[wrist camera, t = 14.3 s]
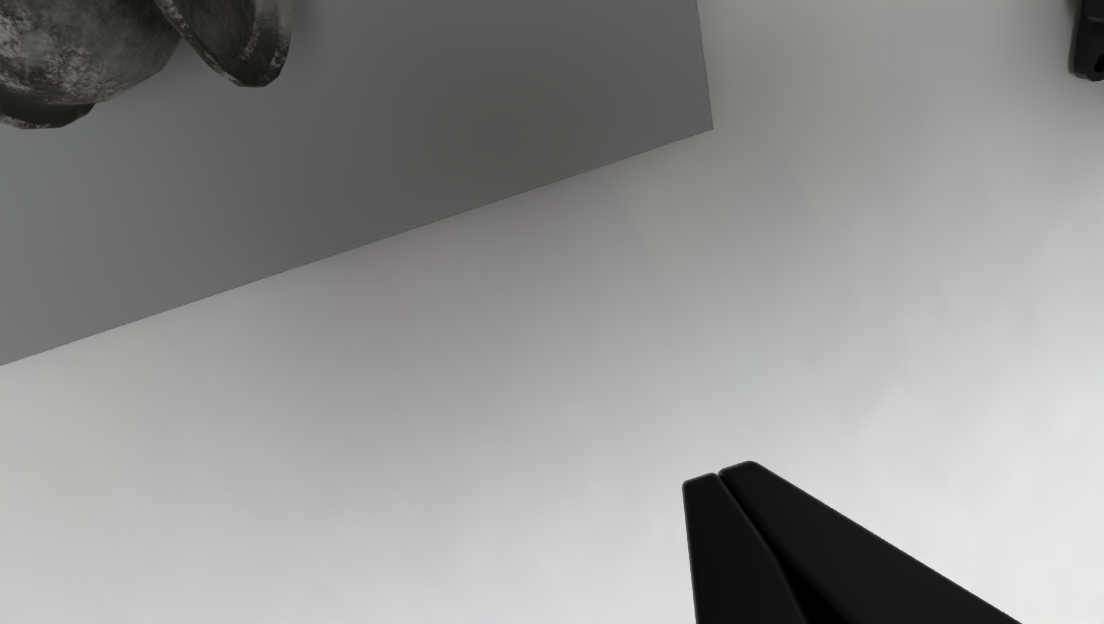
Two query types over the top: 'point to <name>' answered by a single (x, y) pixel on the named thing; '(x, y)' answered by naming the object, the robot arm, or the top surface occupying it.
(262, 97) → the slate mat
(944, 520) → the top surface
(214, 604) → the top surface
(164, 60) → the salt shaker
